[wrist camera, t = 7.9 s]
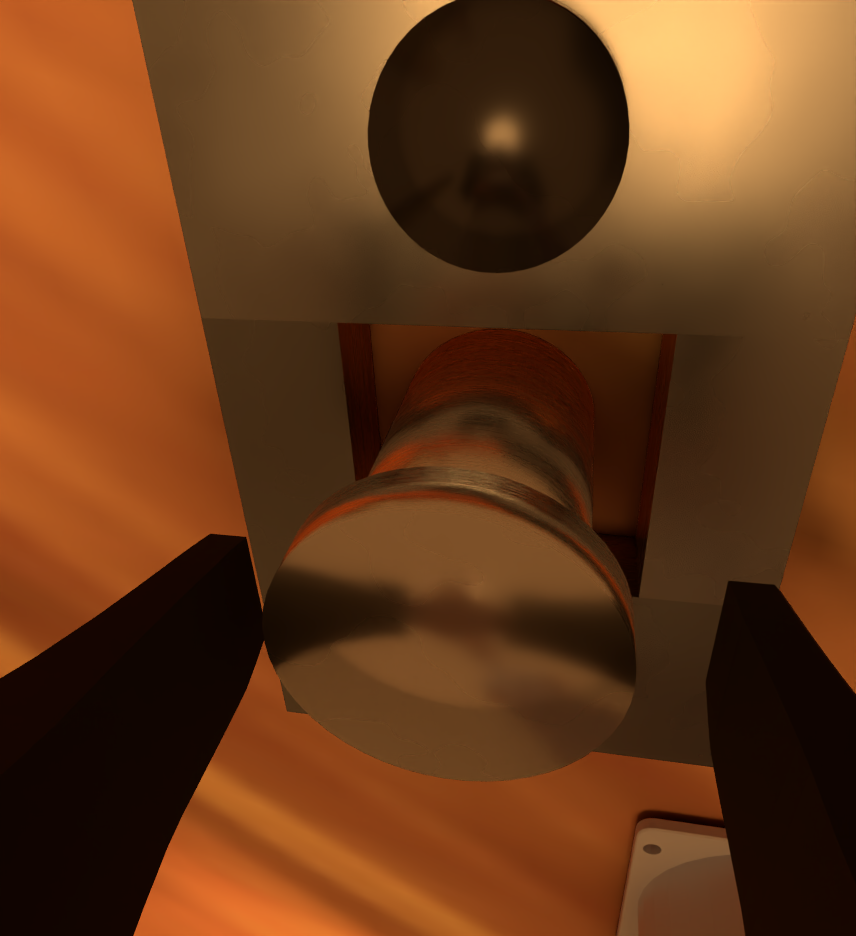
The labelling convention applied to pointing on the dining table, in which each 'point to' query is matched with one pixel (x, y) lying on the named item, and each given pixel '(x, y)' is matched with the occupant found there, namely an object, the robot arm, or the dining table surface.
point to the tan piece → (529, 251)
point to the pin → (464, 578)
